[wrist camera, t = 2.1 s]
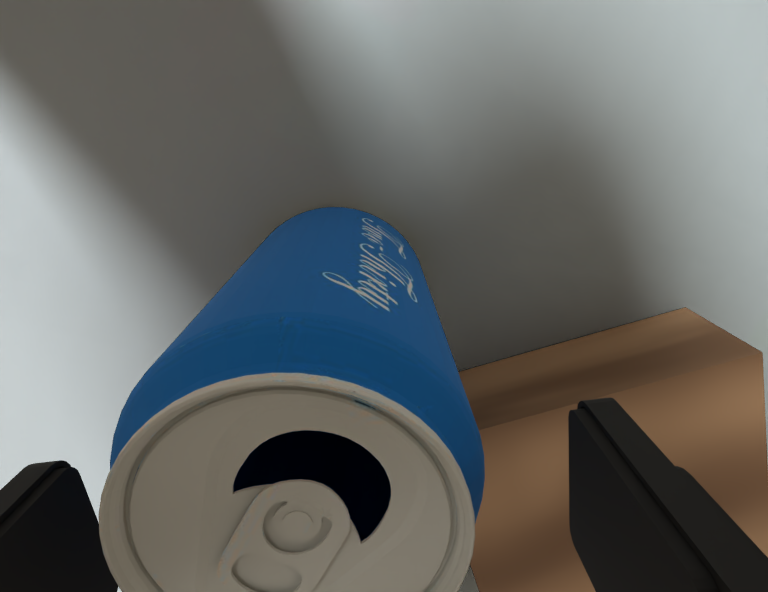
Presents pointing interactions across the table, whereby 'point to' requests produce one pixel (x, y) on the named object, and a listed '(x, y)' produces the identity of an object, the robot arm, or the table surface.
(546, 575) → the walnut block
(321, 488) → the beverage can
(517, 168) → the table surface
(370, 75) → the table surface
